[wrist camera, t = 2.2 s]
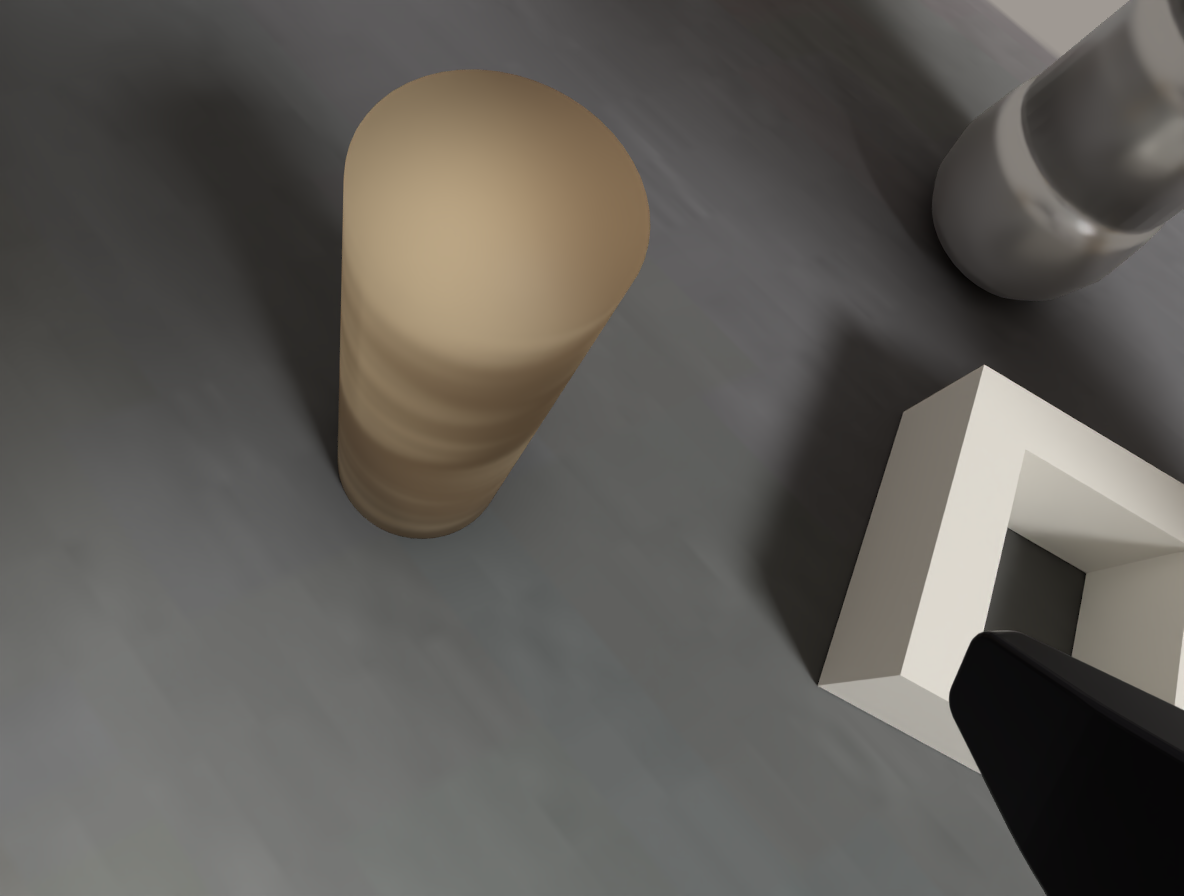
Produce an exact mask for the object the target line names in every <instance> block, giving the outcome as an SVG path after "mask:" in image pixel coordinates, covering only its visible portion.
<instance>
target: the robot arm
mask: <svg viewBox="0 0 1184 896" xmlns="http://www.w3.org/2000/svg"><path fill="white" fill-rule="evenodd" d="M949 707H950V711H951V714H952V716H953V719H954V721H955V723H956V725H957V727H958V729H959V731H960V733H961V735H962V737H963V739H964V741H965V743H966V745H967V747H968V749H969V751H970V753H971V755H972V757H973V759H974V761H975V763H976V765H977V767H978V769H979V771H980V773H981V775H982V777H983V779H984V781H985V783H986V785H987V787H988V789H989V791H990V793H991V795H992V797H993V799H994V801H995V803H996V805H997V807H998V809H999V811H1000V813H1001V815H1002V817H1003V819H1004V821H1005V823H1006V825H1007V827H1008V829H1009V831H1010V833H1011V834H1012V836H1013V838H1014V840H1015V842H1016V844H1017V846H1018V848H1019V850H1020V851H1021V853H1022V855H1023V857H1024V858H1025V860H1026V862H1027V864H1028V865H1029V867H1030V869H1031V870H1032V872H1033V874H1034V876H1035V877H1036V879H1037V880H1038V882H1039V884H1040V885H1041V887H1042V889H1043V890H1044V892H1045V894H1046V895H1047V896H1184V710H1183V709H1181V708H1179V707H1177V706H1174V705H1172V704H1170V703H1168V702H1166V701H1164V700H1162V699H1160V698H1158V697H1156V696H1153V695H1151V694H1149V693H1147V692H1145V691H1143V690H1141V689H1139V688H1137V687H1135V686H1132V685H1130V684H1128V683H1126V682H1124V681H1122V680H1120V679H1118V678H1116V677H1114V676H1111V675H1109V674H1107V673H1105V672H1103V671H1101V670H1099V669H1097V668H1095V667H1093V666H1090V665H1088V664H1086V663H1084V662H1082V661H1080V660H1078V659H1076V658H1074V657H1072V656H1069V655H1067V654H1065V653H1063V652H1061V651H1059V650H1057V649H1055V648H1053V647H1051V646H1048V645H1046V644H1044V643H1042V642H1040V641H1038V640H1036V639H1034V638H1032V637H1030V636H1027V635H1025V634H1023V633H1021V632H1018V631H1013V630H1001V631H984V632H981V633H978V634H977V635H976V636H975V637H974V638H973V639H972V641H971V642H970V644H969V646H968V649H967V651H966V653H965V656H964V658H963V660H962V663H961V665H960V667H959V670H958V672H957V674H956V677H955V679H954V681H953V684H952V686H951V689H950V692H949Z"/></svg>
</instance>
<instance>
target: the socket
mask: <svg viewBox="0 0 1184 896" xmlns="http://www.w3.org/2000/svg"><path fill="white" fill-rule="evenodd" d="M1007 527H1008V528H1009V529H1011V530H1013V531H1014V532H1016V533H1018V534H1020V535H1021V536H1023V537H1025V538H1027V539H1028V540H1030V541H1032V542H1033V543H1035V544H1037V545H1039V546H1040V547H1042V548H1044V549H1045V550H1047V551H1049V552H1051V553H1052V554H1054V555H1056V556H1058V557H1059V558H1061V559H1063V560H1064V561H1066V562H1068V563H1070V564H1071V565H1073V566H1075V567H1077V568H1078V569H1080V570H1082V571H1083V572H1085V573H1086V579H1085V584H1084V590H1083V595H1082V601H1081V606H1080V612H1079V618H1078V623H1077V629H1076V634H1075V640H1074V646H1073V651H1072V657H1074V658H1076V659H1078V660H1080V661H1082V662H1084V663H1086V664H1088V665H1090V666H1093V667H1095V668H1097V669H1099V670H1101V671H1103V672H1105V673H1107V674H1109V675H1111V676H1114V677H1116V678H1118V679H1120V680H1122V681H1124V682H1126V683H1128V684H1130V685H1132V686H1135V687H1137V688H1139V689H1141V690H1143V691H1145V692H1147V693H1149V694H1151V695H1153V696H1156V697H1158V698H1160V699H1162V700H1164V701H1166V702H1168V703H1170V704H1172V705H1174V706H1177V707H1179V708H1181V709H1183V710H1184V484H1182V483H1181V482H1179V481H1177V480H1176V479H1174V478H1172V477H1171V476H1169V475H1167V474H1166V473H1164V472H1162V471H1161V470H1159V469H1157V468H1156V467H1154V466H1152V465H1151V464H1149V463H1147V462H1146V461H1144V460H1142V459H1141V458H1139V457H1137V456H1136V455H1134V454H1132V453H1131V452H1129V451H1127V450H1126V449H1124V448H1122V447H1121V446H1119V445H1117V444H1116V443H1114V442H1112V441H1111V440H1109V439H1107V438H1106V437H1104V436H1102V435H1101V434H1099V433H1097V432H1096V431H1094V430H1092V429H1091V428H1089V427H1087V426H1086V425H1084V424H1082V423H1081V422H1079V421H1077V420H1076V419H1074V418H1072V417H1071V416H1069V415H1067V414H1066V413H1064V412H1062V411H1061V410H1059V409H1057V408H1056V407H1054V406H1052V405H1051V404H1049V403H1047V402H1046V401H1044V400H1042V399H1041V398H1039V397H1037V396H1036V395H1034V394H1032V393H1031V392H1029V391H1027V390H1026V389H1024V388H1023V387H1021V386H1019V385H1018V384H1016V383H1014V382H1013V381H1011V380H1009V379H1008V378H1006V377H1004V376H1003V375H1001V374H999V373H998V372H996V371H994V370H993V369H991V368H989V367H988V366H986V365H983V366H981V367H979V368H978V369H976V370H974V371H972V372H971V373H969V374H967V375H966V376H964V377H962V378H961V379H959V380H957V381H955V382H954V383H952V384H950V385H949V386H947V387H945V388H944V389H942V390H940V391H938V392H937V393H935V394H933V395H932V396H930V397H928V398H926V399H925V400H923V401H921V402H920V403H918V404H916V405H915V406H913V407H911V408H909V409H908V410H906V411H904V412H903V415H902V418H901V421H900V425H899V428H898V431H897V434H896V437H895V441H894V444H893V447H892V450H891V453H890V457H889V460H888V463H887V466H886V469H885V472H884V476H883V479H882V482H881V485H880V488H879V492H878V495H877V498H876V501H875V504H874V508H873V511H872V514H871V517H870V520H869V523H868V527H867V530H866V533H865V536H864V539H863V543H862V546H861V549H860V552H859V555H858V559H857V562H856V565H855V568H854V571H853V575H852V578H851V581H850V584H849V587H848V590H847V594H846V597H845V600H844V603H843V606H842V610H841V613H840V616H839V619H838V622H837V626H836V629H835V632H834V635H833V638H832V641H831V645H830V648H829V651H828V654H827V657H826V661H825V664H824V667H823V670H822V673H821V677H820V680H819V683H818V686H819V687H821V688H823V689H825V690H826V691H828V692H830V693H832V694H834V695H836V696H838V697H839V698H841V699H843V700H845V701H847V702H849V703H850V704H852V705H854V706H856V707H858V708H860V709H862V710H863V711H865V712H867V713H869V714H871V715H873V716H874V717H876V718H878V719H880V720H882V721H884V722H886V723H887V724H889V725H891V726H893V727H895V728H897V729H898V730H900V731H902V732H904V733H906V734H908V735H909V736H911V737H913V738H915V739H917V740H919V741H921V742H922V743H924V744H926V745H928V746H930V747H932V748H933V749H935V750H937V751H939V752H941V753H943V754H945V755H946V756H948V757H950V758H952V759H954V760H956V761H957V762H959V763H961V764H963V765H965V766H967V767H968V768H970V769H972V770H974V771H976V772H978V773H980V771H979V769H978V767H977V765H976V763H975V761H974V759H973V757H972V755H971V753H970V751H969V749H968V747H967V745H966V743H965V741H964V739H963V737H962V735H961V733H960V731H959V729H958V727H957V725H956V723H955V721H954V719H953V716H952V714H951V711H950V707H949V692H950V689H951V686H952V684H953V681H954V679H955V677H956V674H957V672H958V670H959V667H960V665H961V663H962V660H963V658H964V656H965V653H966V651H967V649H968V646H969V644H970V642H971V641H972V639H973V638H974V637H975V636H976V635H977V634H978V633H981V632H983V631H984V627H985V622H986V618H987V614H988V609H989V605H990V601H991V596H992V592H993V588H994V583H995V579H996V575H997V570H998V566H999V562H1000V557H1001V553H1002V549H1003V544H1004V540H1005V536H1006V531H1007ZM980 774H981V773H980Z"/></svg>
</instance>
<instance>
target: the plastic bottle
mask: <svg viewBox="0 0 1184 896" xmlns="http://www.w3.org/2000/svg"><path fill="white" fill-rule="evenodd" d="M1183 209H1184V0H1129V1H1128V2H1127V3H1126V4H1124V5H1123V6H1122V7H1121V8H1120V9H1119V10H1117V11H1116V12H1115V13H1114V14H1112V15H1111V16H1110V17H1109V18H1107V19H1106V20H1105V21H1104V22H1103V23H1101V24H1100V25H1099V26H1098V27H1096V28H1095V29H1094V30H1093V31H1092V32H1090V33H1089V34H1088V35H1087V36H1086V37H1084V38H1083V39H1082V40H1081V41H1080V42H1078V43H1077V44H1076V45H1075V46H1073V47H1072V48H1071V49H1070V50H1069V51H1067V52H1066V53H1065V54H1064V55H1063V56H1061V57H1060V58H1059V59H1058V60H1057V61H1055V62H1054V63H1053V64H1052V65H1050V66H1049V67H1048V68H1047V69H1046V70H1044V71H1043V72H1042V73H1041V74H1039V75H1037V76H1035V77H1033V78H1031V79H1029V80H1028V81H1026V82H1025V83H1023V84H1022V85H1020V86H1018V87H1017V88H1015V89H1014V90H1012V91H1011V92H1009V93H1008V94H1007V95H1005V96H1004V97H1003V98H1001V99H1000V100H999V101H998V102H996V103H995V104H994V105H992V106H991V107H990V108H988V109H987V110H986V111H984V112H983V113H982V114H981V115H979V116H978V117H977V118H976V119H975V120H974V121H972V122H971V123H970V124H969V125H968V126H967V128H966V129H965V130H964V132H963V133H962V134H961V136H960V137H959V139H958V140H957V141H956V143H955V144H954V146H953V147H952V148H951V150H950V151H949V152H948V154H947V155H946V157H945V158H944V160H943V162H942V163H941V165H940V167H939V169H938V172H937V176H936V180H935V185H934V191H933V198H932V216H933V223H934V227H935V230H936V233H937V236H938V239H939V241H940V243H941V245H942V247H943V249H944V251H945V252H946V254H947V255H948V256H949V258H950V259H951V261H952V262H953V264H954V265H955V266H956V267H957V268H958V269H959V270H960V271H961V272H962V273H963V274H964V275H965V276H966V277H967V278H968V279H969V280H971V281H972V282H973V283H974V284H976V285H977V286H979V287H980V288H982V289H984V290H986V291H987V292H989V293H992V294H994V295H997V296H1000V297H1002V298H1008V299H1014V300H1026V301H1047V300H1051V299H1055V298H1058V297H1061V296H1063V295H1066V294H1068V293H1071V292H1073V291H1075V290H1078V289H1080V288H1083V287H1085V286H1088V285H1090V284H1093V283H1095V282H1097V281H1099V280H1101V279H1102V278H1104V277H1105V276H1106V275H1108V274H1109V273H1111V272H1112V271H1113V270H1114V269H1115V268H1117V267H1118V266H1119V265H1120V264H1122V263H1123V262H1124V261H1125V260H1127V259H1128V258H1129V257H1130V256H1132V255H1133V254H1134V253H1135V252H1136V251H1138V250H1139V249H1140V248H1141V247H1142V246H1144V245H1145V244H1146V243H1147V242H1148V241H1149V240H1150V239H1151V238H1152V237H1153V236H1154V235H1155V234H1156V233H1157V232H1158V231H1159V230H1160V229H1161V228H1162V226H1163V225H1164V224H1165V223H1166V221H1168V220H1169V219H1171V218H1172V217H1173V216H1175V215H1176V214H1177V213H1179V212H1180V211H1181V210H1183Z"/></svg>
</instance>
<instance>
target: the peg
mask: <svg viewBox="0 0 1184 896" xmlns="http://www.w3.org/2000/svg"><path fill="white" fill-rule="evenodd" d="M649 234H650V214H649V206H648V201H647V196H646V192H645V189H644V186H643V183H642V180H641V177H640V175H639V173H638V171H637V169H636V167H635V165H634V163H633V161H632V159H631V158H630V156H629V155H628V153H627V151H626V150H625V148H624V147H623V146H622V144H621V143H620V142H619V141H618V139H617V138H616V137H615V136H614V134H613V133H612V132H611V131H610V130H609V129H608V128H607V127H606V126H605V125H604V124H603V123H602V122H601V121H600V120H599V119H598V118H597V117H595V116H594V115H593V114H592V113H591V112H589V111H588V110H587V109H586V108H584V107H583V106H581V105H580V104H578V103H577V102H576V101H574V100H573V99H571V98H570V97H568V96H566V95H564V94H562V93H560V92H558V91H557V90H555V89H553V88H551V87H548V86H546V85H543V84H541V83H539V82H536V81H534V80H530V79H527V78H524V77H521V76H517V75H513V74H508V73H503V72H498V71H488V70H455V71H447V72H440V73H436V74H432V75H428V76H424V77H422V78H419V79H416V80H414V81H411V82H409V83H407V84H405V85H403V86H401V87H399V88H398V89H396V90H394V91H392V92H391V93H390V94H388V95H387V96H386V97H384V98H383V99H382V100H381V101H379V102H378V103H377V104H376V105H375V106H374V107H373V108H372V109H371V110H370V112H369V113H368V114H367V115H366V116H365V118H364V119H363V121H362V122H361V124H360V125H359V127H358V128H357V130H356V132H355V134H354V136H353V139H352V141H351V143H350V146H349V149H348V153H347V157H346V161H345V171H344V190H343V237H342V283H341V330H340V377H339V423H338V470H339V475H340V480H341V483H342V486H343V488H344V491H345V493H346V494H347V496H348V498H349V500H350V501H351V503H352V504H353V506H354V507H355V508H356V509H357V510H358V511H359V512H360V514H361V515H362V516H364V517H365V518H366V519H367V520H368V521H370V522H371V523H372V524H374V525H376V526H377V527H379V528H380V529H383V530H385V531H387V532H389V533H392V534H395V535H398V536H402V537H408V538H417V539H427V538H436V537H441V536H445V535H448V534H451V533H454V532H456V531H458V530H460V529H462V528H464V527H466V526H467V525H469V524H470V523H472V522H473V521H474V520H475V519H476V518H477V517H479V516H480V515H481V514H482V512H483V511H484V510H485V509H486V508H487V506H488V505H489V503H490V502H491V500H492V499H493V497H494V496H495V494H496V493H497V491H498V490H499V488H500V486H501V485H502V483H503V482H504V480H505V479H506V477H507V476H508V474H509V473H510V471H511V469H512V468H513V466H514V465H515V463H516V462H517V460H518V459H519V457H520V456H521V454H522V452H523V451H524V449H525V448H526V446H527V445H528V443H529V442H530V440H531V439H532V437H533V436H534V434H535V432H536V431H537V429H538V428H539V426H540V425H541V423H542V422H543V420H544V419H545V417H546V415H547V414H548V412H549V411H550V409H551V408H552V406H553V405H554V403H555V402H556V400H557V398H558V397H559V395H560V394H561V392H562V391H563V389H564V388H565V386H566V385H567V383H568V381H569V380H570V378H571V377H572V375H573V374H574V372H575V371H576V369H577V368H578V366H579V365H580V363H581V361H582V360H583V358H584V357H585V355H586V354H587V352H588V351H589V349H590V348H591V346H592V344H593V343H594V341H595V340H596V338H597V337H598V335H599V334H600V332H601V331H602V329H603V327H604V326H605V324H606V323H607V321H608V320H609V318H610V317H611V315H612V314H613V312H614V311H615V309H616V307H617V306H618V304H619V303H620V301H621V300H622V298H623V297H624V295H625V294H626V292H627V290H628V289H629V287H630V286H631V284H632V283H633V281H634V280H635V278H636V276H637V275H638V273H639V271H640V268H641V266H642V264H643V261H644V259H645V255H646V251H647V248H648V244H649Z"/></svg>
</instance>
